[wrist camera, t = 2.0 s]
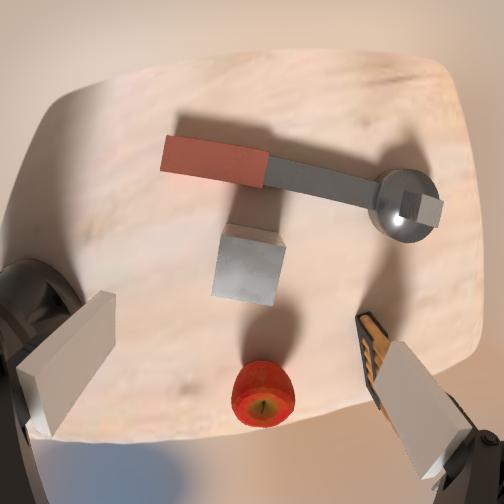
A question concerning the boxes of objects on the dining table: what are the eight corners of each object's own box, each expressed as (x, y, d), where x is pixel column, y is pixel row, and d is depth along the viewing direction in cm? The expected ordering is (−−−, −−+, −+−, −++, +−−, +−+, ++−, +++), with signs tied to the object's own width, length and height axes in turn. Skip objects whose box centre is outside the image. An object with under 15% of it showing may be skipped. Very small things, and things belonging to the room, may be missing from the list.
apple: (278, 339, 33) (286, 381, 25) (295, 380, 34) (305, 424, 27) (224, 357, 33) (219, 400, 26) (245, 396, 34) (245, 440, 27)
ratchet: (163, 190, 29) (142, 195, 22) (177, 119, 27) (158, 105, 21) (416, 242, 30) (449, 258, 24) (430, 179, 29) (466, 183, 22)
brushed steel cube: (217, 272, 31) (211, 295, 25) (226, 222, 29) (221, 234, 24) (267, 281, 31) (272, 306, 25) (278, 232, 30) (286, 247, 24)
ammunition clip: (354, 316, 32) (399, 380, 20) (369, 310, 32) (419, 371, 20) (366, 386, 35) (400, 453, 23) (379, 381, 34) (416, 446, 23)
